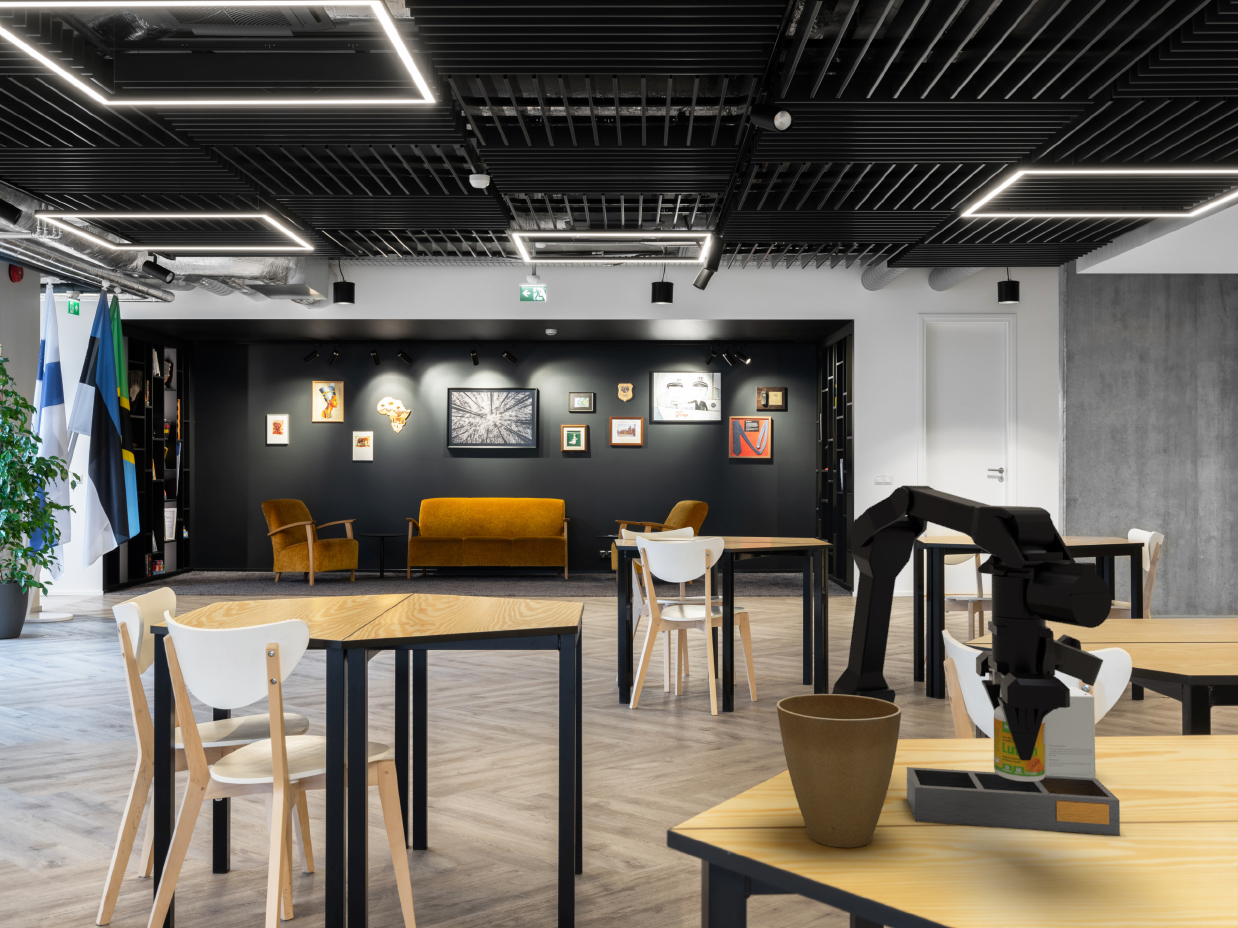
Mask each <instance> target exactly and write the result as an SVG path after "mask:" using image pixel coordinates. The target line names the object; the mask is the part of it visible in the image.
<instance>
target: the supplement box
mask: <svg viewBox="0 0 1238 928" xmlns="http://www.w3.org/2000/svg"><path fill="white" fill-rule="evenodd" d="M1066 686H1067V687H1068V688H1069V689H1070V707H1068V708H1058V709H1054V710H1053V711H1051V712H1050V713H1049V714H1047V715H1046V716H1045V775H1049V776H1066V777H1082V778H1096V775H1097V774H1096V738H1095V736H1096V733H1095V732H1096V731H1095V728H1096V727H1095V725H1096V724H1095V697H1094V696H1093V695H1092V694H1090V693H1088V692H1087V691H1085V690H1083V689H1080V688H1079V687H1076V686H1074V685H1073V686H1072V685H1070V686H1069V685H1066ZM1096 779H1097V778H1096Z"/></svg>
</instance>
